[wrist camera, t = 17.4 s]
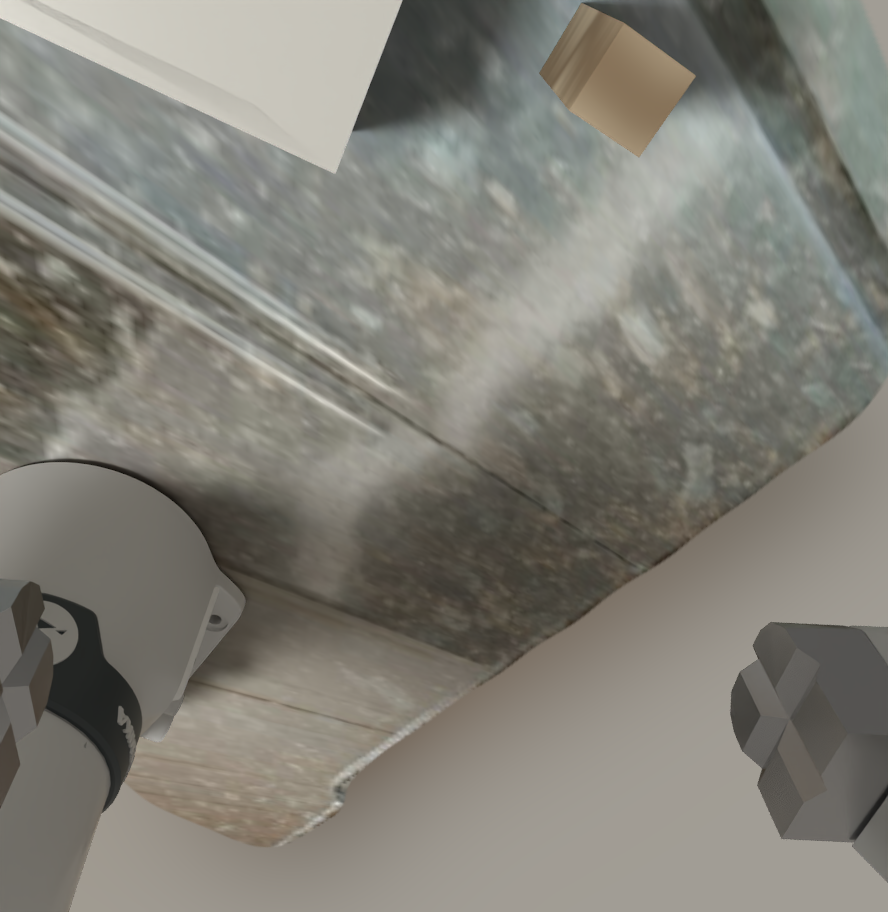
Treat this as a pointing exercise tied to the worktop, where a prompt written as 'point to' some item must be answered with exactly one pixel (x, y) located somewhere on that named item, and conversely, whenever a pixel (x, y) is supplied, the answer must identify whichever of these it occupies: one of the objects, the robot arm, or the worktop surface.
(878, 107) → the worktop surface
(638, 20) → the worktop surface
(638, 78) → the brown wooden block
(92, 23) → the box
